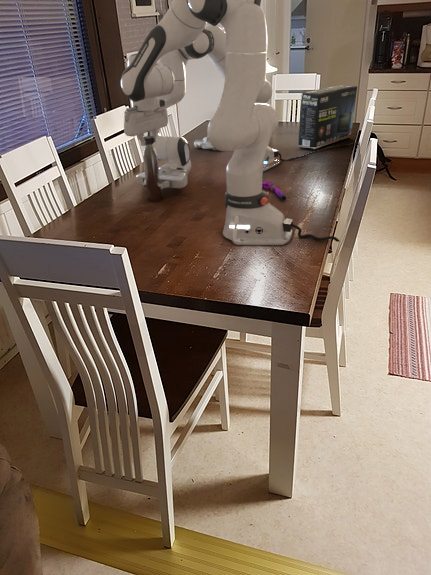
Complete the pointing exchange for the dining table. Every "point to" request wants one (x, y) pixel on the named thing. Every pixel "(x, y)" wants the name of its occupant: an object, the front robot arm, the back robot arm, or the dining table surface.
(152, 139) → the cap
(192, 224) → the dining table surface
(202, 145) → the fossil
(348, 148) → the dining table surface
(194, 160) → the dining table surface
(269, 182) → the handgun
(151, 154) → the bottle
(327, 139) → the router box
